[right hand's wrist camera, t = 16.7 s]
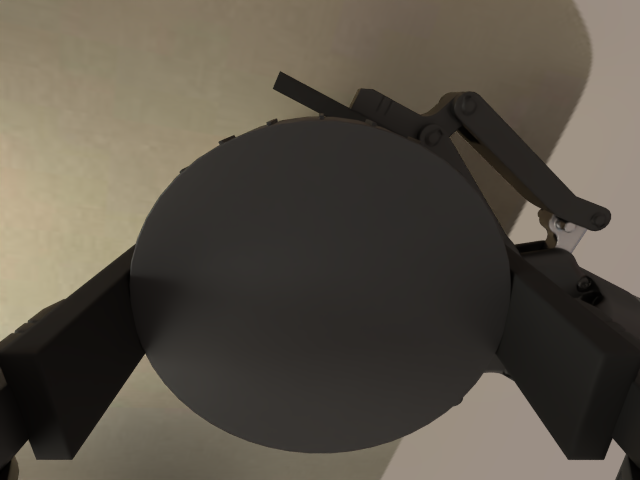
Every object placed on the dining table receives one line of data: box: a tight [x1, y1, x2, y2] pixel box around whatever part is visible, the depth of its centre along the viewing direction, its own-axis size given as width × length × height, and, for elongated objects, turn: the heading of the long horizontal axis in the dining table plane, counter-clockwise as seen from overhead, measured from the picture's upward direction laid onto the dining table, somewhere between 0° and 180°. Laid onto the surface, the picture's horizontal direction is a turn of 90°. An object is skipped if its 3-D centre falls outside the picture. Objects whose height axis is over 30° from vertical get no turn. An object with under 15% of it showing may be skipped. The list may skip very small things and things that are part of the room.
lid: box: [129, 113, 511, 453], centre depth 11 cm, size 11×11×2 cm
